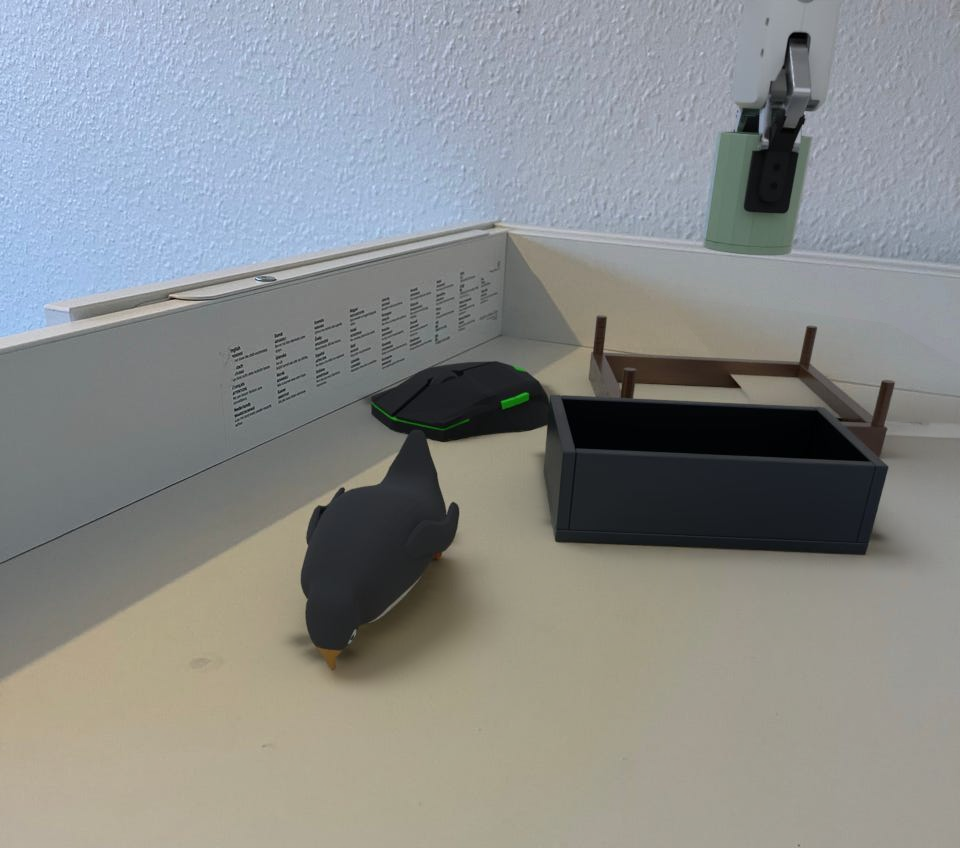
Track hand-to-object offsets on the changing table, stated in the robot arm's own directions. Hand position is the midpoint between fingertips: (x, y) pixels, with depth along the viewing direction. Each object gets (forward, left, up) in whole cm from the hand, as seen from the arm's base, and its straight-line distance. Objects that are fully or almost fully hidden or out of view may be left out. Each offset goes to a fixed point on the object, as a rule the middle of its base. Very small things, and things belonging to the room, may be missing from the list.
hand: (753, 204), depth 76 cm
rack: (-1, -5, -18) cm, 18 cm away
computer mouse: (+21, -1, -18) cm, 27 cm away
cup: (0, 0, -3) cm, 3 cm away
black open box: (+6, +19, -18) cm, 27 cm away
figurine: (+26, +35, -18) cm, 47 cm away
